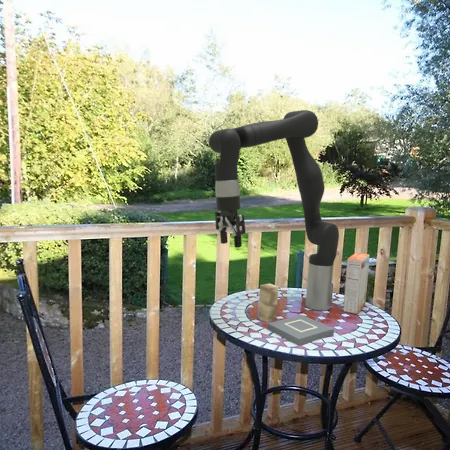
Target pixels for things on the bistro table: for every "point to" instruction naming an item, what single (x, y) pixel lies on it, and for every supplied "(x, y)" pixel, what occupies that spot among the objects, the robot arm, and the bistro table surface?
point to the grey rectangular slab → (300, 329)
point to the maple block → (268, 302)
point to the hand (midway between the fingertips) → (230, 245)
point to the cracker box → (356, 283)
